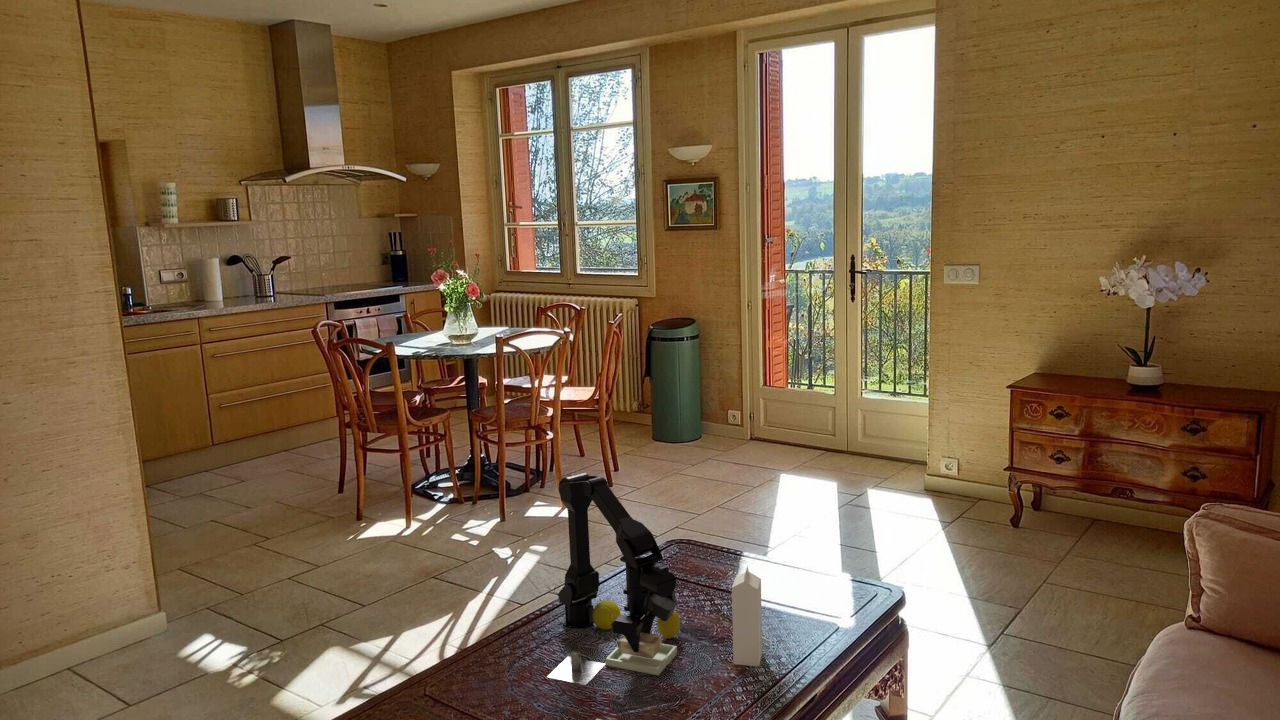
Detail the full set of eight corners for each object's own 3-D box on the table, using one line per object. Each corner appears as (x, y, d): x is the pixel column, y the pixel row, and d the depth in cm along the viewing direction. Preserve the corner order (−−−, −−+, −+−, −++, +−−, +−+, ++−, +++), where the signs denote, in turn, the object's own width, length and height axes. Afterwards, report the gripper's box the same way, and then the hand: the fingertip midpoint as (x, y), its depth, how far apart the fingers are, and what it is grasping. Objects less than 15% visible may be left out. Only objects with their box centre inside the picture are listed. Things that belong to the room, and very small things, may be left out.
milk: (733, 664, 209) (730, 574, 205) (737, 651, 214) (734, 564, 210) (759, 666, 207) (757, 576, 203) (762, 653, 213) (760, 565, 209)
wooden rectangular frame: (661, 647, 212) (661, 635, 212) (652, 658, 207) (651, 646, 207) (624, 640, 216) (623, 628, 216) (613, 651, 211) (613, 639, 211)
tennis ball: (616, 635, 225) (614, 609, 223) (589, 632, 227) (588, 606, 225) (624, 622, 231) (623, 597, 230) (598, 620, 233) (597, 594, 232)
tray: (606, 666, 210) (605, 658, 209) (626, 644, 220) (626, 637, 219) (658, 677, 204) (658, 668, 204) (677, 653, 214) (676, 646, 214)
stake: (546, 678, 206) (545, 659, 205) (567, 657, 214) (566, 639, 214) (585, 686, 201) (584, 667, 201) (605, 665, 210) (604, 646, 210)
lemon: (678, 644, 219) (677, 613, 217) (656, 643, 220) (655, 612, 218) (682, 634, 224) (681, 603, 223) (660, 632, 225) (659, 602, 224)
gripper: (654, 605, 197) (657, 671, 200) (686, 572, 214) (687, 633, 216) (608, 597, 202) (611, 662, 204) (642, 566, 218) (645, 626, 221)
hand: (641, 646), depth 211 cm, fingers closed on wooden rectangular frame, 6 cm apart
